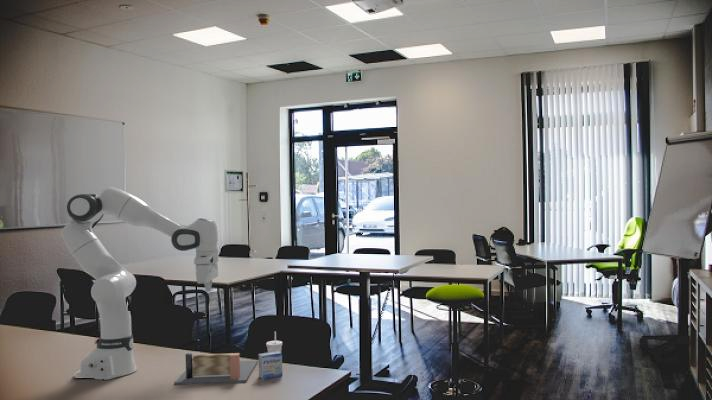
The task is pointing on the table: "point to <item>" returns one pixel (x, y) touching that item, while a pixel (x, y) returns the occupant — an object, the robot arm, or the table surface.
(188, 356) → the hinge post
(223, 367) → the gate
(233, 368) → the post
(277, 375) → the medicine box
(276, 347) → the smoothie
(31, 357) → the table surface
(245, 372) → the mat
